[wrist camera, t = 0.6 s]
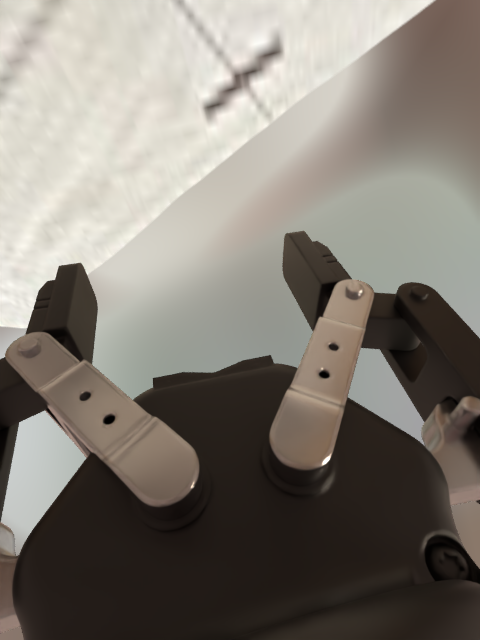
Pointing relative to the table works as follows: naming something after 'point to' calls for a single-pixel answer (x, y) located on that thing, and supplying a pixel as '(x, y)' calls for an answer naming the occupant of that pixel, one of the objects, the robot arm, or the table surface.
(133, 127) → the table surface
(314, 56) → the table surface
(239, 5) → the table surface
